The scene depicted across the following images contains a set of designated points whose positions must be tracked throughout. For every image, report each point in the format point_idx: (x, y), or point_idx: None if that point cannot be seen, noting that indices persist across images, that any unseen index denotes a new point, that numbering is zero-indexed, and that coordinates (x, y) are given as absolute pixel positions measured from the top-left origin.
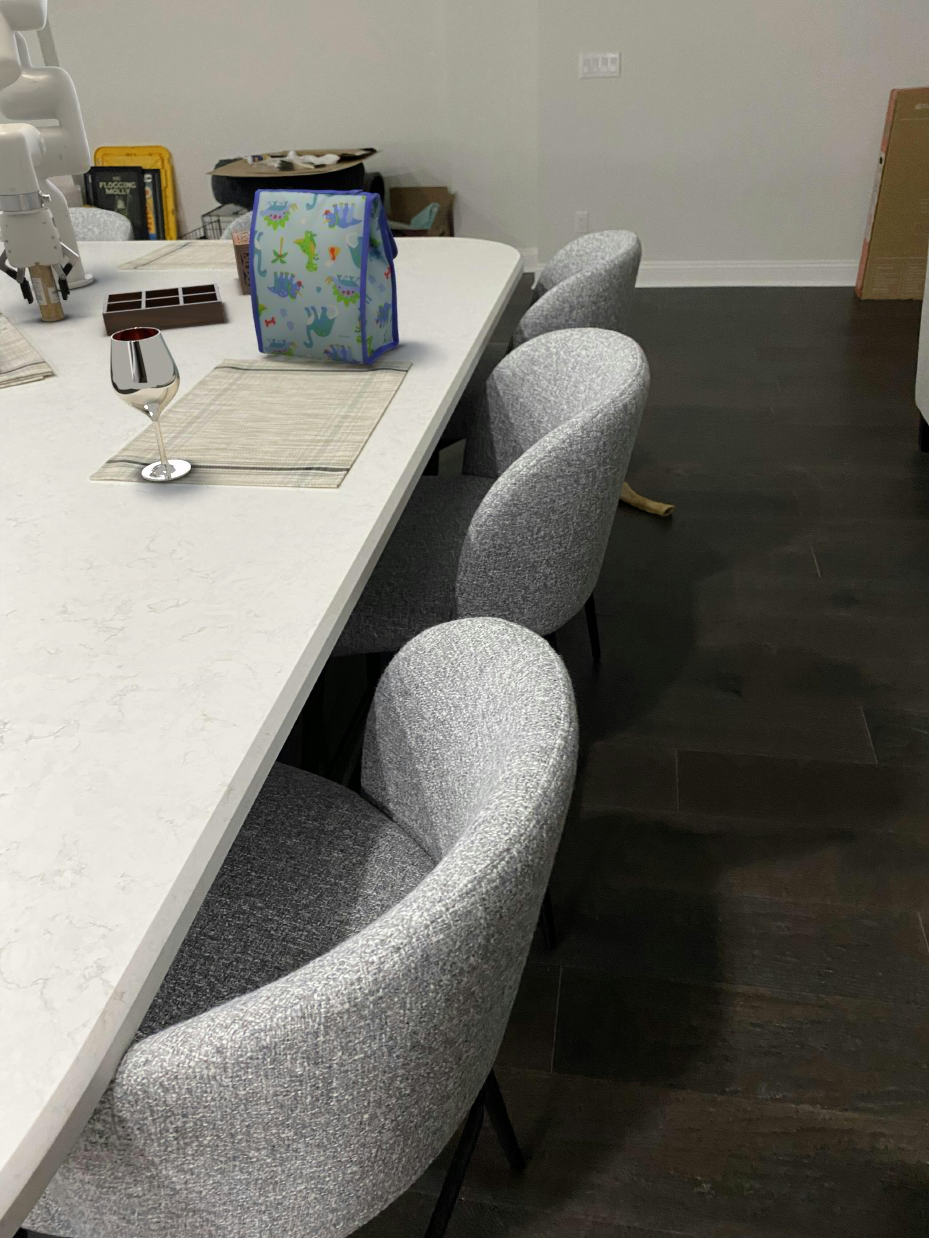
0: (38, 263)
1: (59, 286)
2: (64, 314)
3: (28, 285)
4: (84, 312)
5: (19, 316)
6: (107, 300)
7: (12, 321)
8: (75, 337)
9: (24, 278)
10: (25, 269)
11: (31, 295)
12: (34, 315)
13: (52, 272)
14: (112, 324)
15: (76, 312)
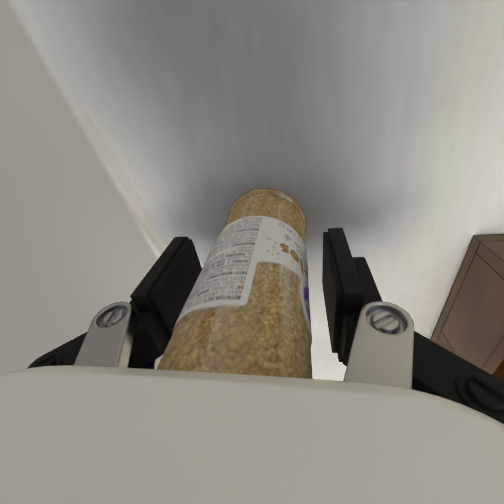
0: None
1: (329, 330)
2: (305, 224)
3: (174, 312)
4: (378, 159)
5: (122, 144)
6: (499, 364)
7: (133, 206)
8: (342, 370)
9: (152, 350)
10: (120, 360)
11: (190, 276)
12: (176, 146)
13: (310, 361)
14: None
15: (344, 148)
